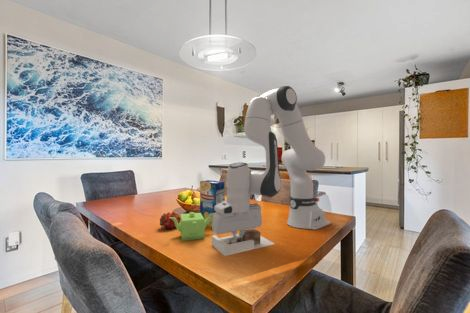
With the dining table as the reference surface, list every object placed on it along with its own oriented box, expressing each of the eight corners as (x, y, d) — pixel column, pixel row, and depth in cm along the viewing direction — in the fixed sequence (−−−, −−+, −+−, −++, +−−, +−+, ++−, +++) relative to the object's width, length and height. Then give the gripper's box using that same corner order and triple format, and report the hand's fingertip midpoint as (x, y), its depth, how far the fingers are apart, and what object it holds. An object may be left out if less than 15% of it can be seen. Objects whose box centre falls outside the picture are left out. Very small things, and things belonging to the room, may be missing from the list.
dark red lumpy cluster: (157, 234, 110) (178, 231, 119) (167, 226, 106) (188, 224, 116) (153, 217, 114) (173, 215, 123) (162, 209, 110) (183, 208, 119)
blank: (253, 239, 96) (253, 228, 96) (260, 243, 92) (260, 232, 91) (229, 244, 91) (229, 232, 91) (235, 249, 86) (235, 237, 86)
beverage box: (216, 228, 114) (216, 183, 114) (199, 224, 121) (199, 181, 120) (224, 224, 120) (224, 181, 119) (209, 220, 126) (208, 180, 126)
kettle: (195, 248, 91) (194, 219, 91) (167, 242, 97) (166, 215, 97) (215, 235, 104) (215, 210, 104) (189, 230, 111) (189, 207, 110)
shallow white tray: (259, 238, 101) (259, 226, 101) (275, 247, 91) (275, 235, 91) (211, 248, 90) (211, 235, 90) (224, 260, 81) (224, 246, 81)
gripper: (256, 201, 97) (256, 234, 97) (210, 206, 87) (210, 243, 88) (265, 204, 92) (265, 239, 92) (217, 210, 82) (217, 249, 82)
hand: (238, 241), depth 90 cm, fingers closed
